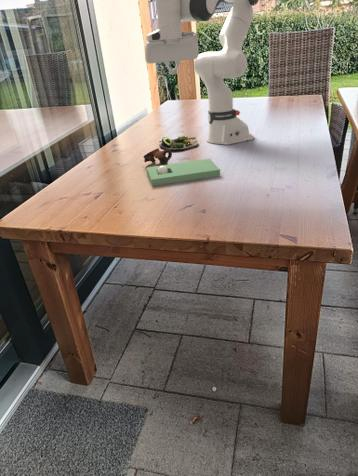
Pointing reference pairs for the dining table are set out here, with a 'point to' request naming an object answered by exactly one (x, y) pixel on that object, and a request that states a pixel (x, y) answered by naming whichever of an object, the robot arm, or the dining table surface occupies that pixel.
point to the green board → (183, 172)
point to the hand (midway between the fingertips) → (173, 74)
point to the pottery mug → (158, 156)
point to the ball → (162, 170)
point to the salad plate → (177, 143)
